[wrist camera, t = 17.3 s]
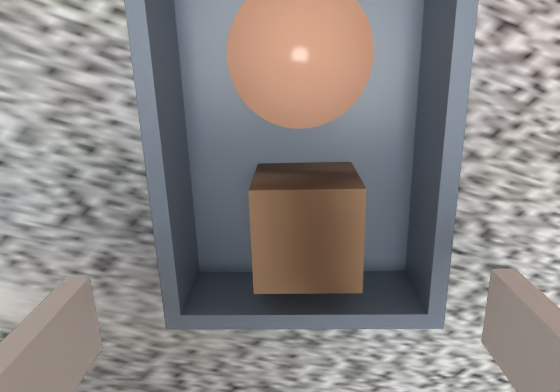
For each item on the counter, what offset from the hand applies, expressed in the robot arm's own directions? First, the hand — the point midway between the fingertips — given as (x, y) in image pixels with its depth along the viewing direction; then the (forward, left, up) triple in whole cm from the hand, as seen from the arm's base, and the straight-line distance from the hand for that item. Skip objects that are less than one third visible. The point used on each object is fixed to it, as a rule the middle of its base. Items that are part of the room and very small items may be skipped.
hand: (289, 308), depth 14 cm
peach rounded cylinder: (0, +8, -10) cm, 13 cm away
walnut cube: (+1, 0, -10) cm, 10 cm away
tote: (0, +4, -11) cm, 11 cm away
